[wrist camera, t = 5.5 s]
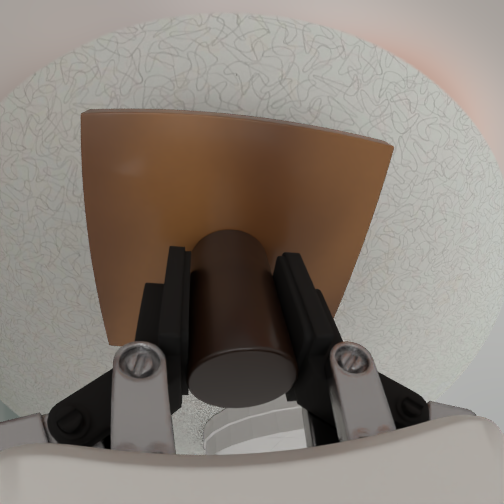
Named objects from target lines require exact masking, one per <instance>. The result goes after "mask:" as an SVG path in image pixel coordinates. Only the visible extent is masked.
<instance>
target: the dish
mask: <svg viewBox="0 0 504 504" xmlns="http://www.w3.org/2000/svg"><path fill="white" fill-rule="evenodd" d="M203 444H204V446H203V448H204V450H205V453H206V455H227V454H249V453H263V452H275V451H284V450H293V449H301V448H307V445H306V438H305V431H304V424H303V417H302V407H301V406H300V405H298V404H297V401H290V402H287V399H286V394H284V395H282V396H280V397H279V398H277V399H275V400H273V401H270V402H268V403H265V404H262V405H258V406H253V407H247V408H226V409H225V410H223V411H221V412H220V413H218V414H216V415H214V416H213V417H212V418H211V419H210V420H209V421H208V422H207V423H206V424H205V427H204V431H203Z"/></svg>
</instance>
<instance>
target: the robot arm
mask: <svg viewBox="0 0 504 504" xmlns="http://www.w3.org/2000/svg"><path fill="white" fill-rule="evenodd" d="M190 268H191V251H185V247H180V246H170V247H169V253H168V260H167V267H166V274H165V281H164V284H162V283H145V286H144V291H143V296H142V301H141V306H140V312H139V317H138V323H137V329H136V335H135V341H134V342H130V343H128V344H125V345H124V346H122V347H121V348H120V349H119V350H118V351H117V352H116V354H115V357H114V360H113V369H111V370H110V371H108V372H106V373H105V374H103V375H102V376H100V377H99V378H97V379H95V380H94V381H92V382H91V383H89V384H88V385H86V386H84V387H83V388H81V389H80V390H78V391H76V392H75V393H73V394H72V395H70V396H68V397H67V398H65V399H64V400H62V401H60V402H59V403H57V404H56V405H55V406H54V407H53V408H52V409H51V411H50V413H48V414H44V415H41V414H40V412H39V413H36V414H32V415H28V416H24V417H20V418H16V419H12V420H7V421H3V422H0V504H504V434H503V433H502V431H501V430H500V428H499V427H498V426H497V425H496V424H495V423H494V422H492V421H491V420H489V419H487V418H483V417H479V416H476V414H475V413H474V412H472V411H471V410H468V409H464V408H460V407H455V406H450V405H446V404H441V403H437V402H433V401H429V402H428V403H426V401H425V400H424V399H423V398H422V397H421V396H420V395H419V394H417V393H415V392H414V391H412V390H410V389H408V388H406V387H404V386H403V385H401V384H399V383H397V382H395V381H394V380H392V379H390V378H388V377H386V376H385V375H383V374H381V373H379V372H378V371H377V368H376V366H375V363H374V360H373V357H372V356H371V354H370V352H369V351H368V350H367V349H366V348H364V347H363V346H361V345H360V344H357V343H354V342H348V341H346V342H343V340H342V338H341V336H340V333H339V331H338V329H337V326H336V324H335V321H334V319H333V317H332V315H331V312H330V310H329V308H328V305H327V303H326V301H325V298H324V296H323V294H322V292H321V290H319V289H315V287H314V285H313V282H312V280H311V278H310V275H309V273H308V271H307V268H306V266H305V264H304V262H303V259H302V257H301V255H300V253H291V252H284V253H283V254H282V256H278V257H277V259H276V263H275V268H274V272H273V280H274V283H275V286H276V290H277V293H278V297H279V300H280V304H281V307H282V311H283V314H284V318H285V321H286V325H287V328H288V332H289V335H290V339H291V342H292V346H293V349H294V353H295V356H296V360H297V364H298V368H299V373H298V378H297V380H296V382H295V384H294V385H293V386H292V388H291V389H290V390H289V391H288V392H286V393H285V394H286V399H287V402H290V401H297V404H298V405H300V406H301V407H302V417H303V424H304V431H305V438H306V445H307V448H301V449H293V450H284V451H275V452H263V453H249V454H227V455H177V454H176V450H175V442H174V434H173V425H172V416H171V415H172V414H173V413H174V412H176V411H177V410H178V409H179V408H181V404H182V395H188V386H187V382H186V369H187V365H188V345H189V295H190Z"/></svg>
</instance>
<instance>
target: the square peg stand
mask: <svg viewBox="0 0 504 504" xmlns="http://www.w3.org/2000/svg"><path fill="white" fill-rule="evenodd" d="M393 150H394V147H393V146H392V145H390V144H389V143H387V142H385V141H382V140H378V139H374V138H370V137H366V136H362V135H357V134H353V133H348V132H343V131H339V130H334V129H329V128H324V127H318V126H313V125H307V124H301V123H295V122H289V121H283V120H276V119H269V118H261V117H254V116H245V115H236V114H226V113H215V112H203V111H188V110H168V109H89V110H87V111H85V112H83V113H81V157H82V177H83V191H84V202H85V213H86V222H87V230H88V238H89V245H90V252H91V259H92V265H93V271H94V277H95V282H96V288H97V293H98V298H99V303H100V308H101V312H102V317H103V321H104V326H105V330H106V334H107V338H108V342H109V345H112V346H124V345H125V344H128V343H130V342H134V341H135V335H136V329H137V323H138V317H139V312H140V306H141V301H142V296H143V291H144V286H145V283H162V284H164V281H165V274H166V267H167V260H168V253H169V247H170V246H180V247H185V251H191V268H190V295H189V345H188V365H187V369H186V382H187V386H188V388H189V390H190V392H191V393H192V394H193V395H194V396H195V397H196V398H198V399H199V400H201V401H202V402H205V403H207V404H210V405H213V406H217V407H223V408H247V407H253V406H258V405H262V404H265V403H268V402H270V401H273V400H275V399H277V398H279V397H280V396H282V395H284V394H285V393H286V392H288V391H289V390H290V389H291V388H292V386H293V385H294V384H295V382H296V380H297V378H298V373H299V368H298V364H297V360H296V356H295V353H294V349H293V346H292V342H291V339H290V335H289V332H288V328H287V325H286V321H285V318H284V314H283V311H282V307H281V304H280V300H279V297H278V293H277V290H276V286H275V283H274V280H273V272H274V268H275V263H276V259H277V257H278V256H282V254H283V253H284V252H291V253H300V255H301V257H302V259H303V262H304V264H305V266H306V268H307V271H308V273H309V275H310V278H311V280H312V282H313V285H314V287H315V289H319V290H321V292H322V294H323V296H324V298H325V301H326V303H327V305H328V308H329V310H330V312H331V315H332V317H333V318H334V316H335V314H336V311H337V309H338V307H339V304H340V302H341V299H342V297H343V295H344V292H345V290H346V287H347V285H348V282H349V280H350V277H351V275H352V272H353V269H354V267H355V264H356V262H357V259H358V256H359V254H360V251H361V248H362V245H363V243H364V240H365V237H366V234H367V231H368V229H369V226H370V223H371V220H372V217H373V214H374V211H375V208H376V205H377V202H378V199H379V196H380V193H381V190H382V186H383V183H384V180H385V177H386V174H387V170H388V167H389V163H390V160H391V157H392V153H393Z"/></svg>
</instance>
